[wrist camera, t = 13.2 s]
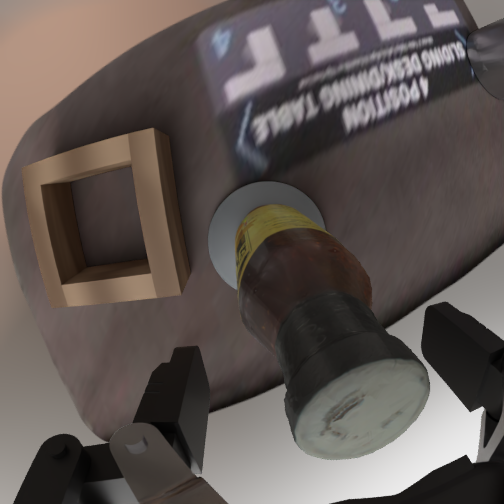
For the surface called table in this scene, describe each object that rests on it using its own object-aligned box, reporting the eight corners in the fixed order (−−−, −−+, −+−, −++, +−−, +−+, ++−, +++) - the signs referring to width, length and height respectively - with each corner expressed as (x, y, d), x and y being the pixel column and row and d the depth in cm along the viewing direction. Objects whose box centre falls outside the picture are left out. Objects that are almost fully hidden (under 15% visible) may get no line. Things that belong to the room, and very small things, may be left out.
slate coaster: (318, 175, 25) (320, 175, 25) (327, 286, 28) (329, 288, 27) (200, 190, 25) (199, 190, 24) (218, 302, 28) (218, 304, 27)
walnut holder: (168, 136, 24) (153, 127, 19) (190, 273, 27) (181, 294, 22) (52, 167, 24) (21, 167, 19) (76, 288, 27) (51, 307, 22)
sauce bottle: (223, 218, 25) (185, 357, 6) (294, 190, 25) (458, 244, 6) (252, 288, 27) (284, 499, 7) (319, 262, 26) (458, 424, 7)
